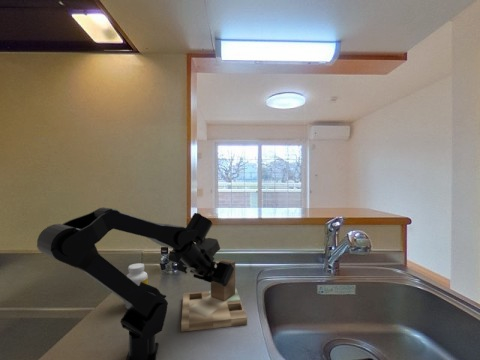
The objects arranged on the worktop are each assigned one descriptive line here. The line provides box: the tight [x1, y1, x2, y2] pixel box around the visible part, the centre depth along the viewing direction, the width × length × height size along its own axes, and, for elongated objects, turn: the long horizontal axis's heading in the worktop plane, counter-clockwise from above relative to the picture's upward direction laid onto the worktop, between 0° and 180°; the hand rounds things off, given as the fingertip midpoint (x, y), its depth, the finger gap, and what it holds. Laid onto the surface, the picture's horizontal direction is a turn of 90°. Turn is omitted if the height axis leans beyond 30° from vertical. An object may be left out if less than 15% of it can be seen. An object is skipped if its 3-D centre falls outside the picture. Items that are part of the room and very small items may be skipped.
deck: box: [180, 288, 248, 333], centre depth 78 cm, size 18×18×2 cm
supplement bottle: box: [125, 262, 149, 310], centre depth 81 cm, size 7×7×13 cm
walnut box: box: [210, 257, 236, 301], centre depth 84 cm, size 6×6×11 cm
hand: (216, 280), depth 81 cm, fingers closed
